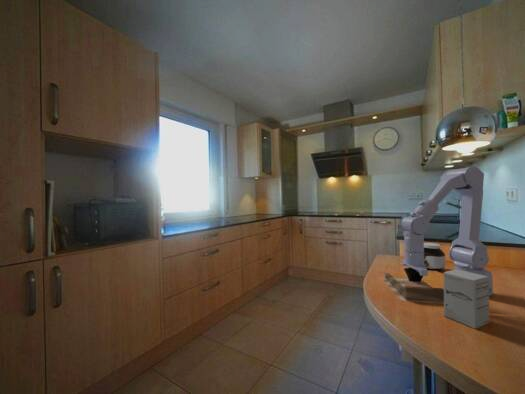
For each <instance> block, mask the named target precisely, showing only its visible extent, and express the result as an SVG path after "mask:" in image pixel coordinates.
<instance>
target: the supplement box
mask: <svg viewBox="0 0 525 394" xmlns="http://www.w3.org/2000/svg"><path fill="white" fill-rule="evenodd" d="M443 289H444V304H443V316H444V317H445V318H449V319H451V320H454V321H456V322H459V323H461V324H463V325H465V326H468V327H470V328H471V329H475V330H476V329H478V328H480V327H483V326H485V325H488V324H489V323H490V296H489V277H488V276H484V275H479V274H475V273H471V272H467V271H463V270H459V269H455V268H454V269H451V270H447V271H444V272H443Z"/></svg>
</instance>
